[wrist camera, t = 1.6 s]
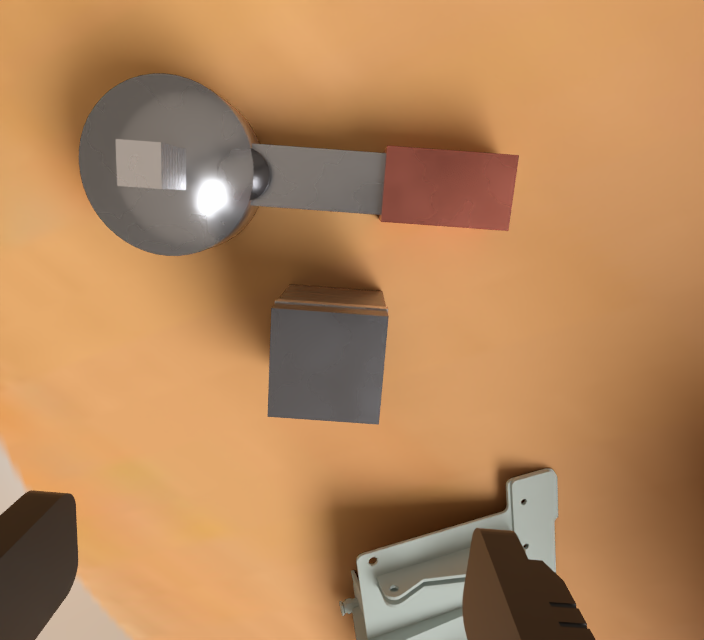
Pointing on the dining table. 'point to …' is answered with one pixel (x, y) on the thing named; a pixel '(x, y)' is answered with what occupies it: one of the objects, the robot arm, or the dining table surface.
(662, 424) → the dining table surface
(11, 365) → the dining table surface
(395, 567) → the metal bracket
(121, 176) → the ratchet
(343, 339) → the grey block
